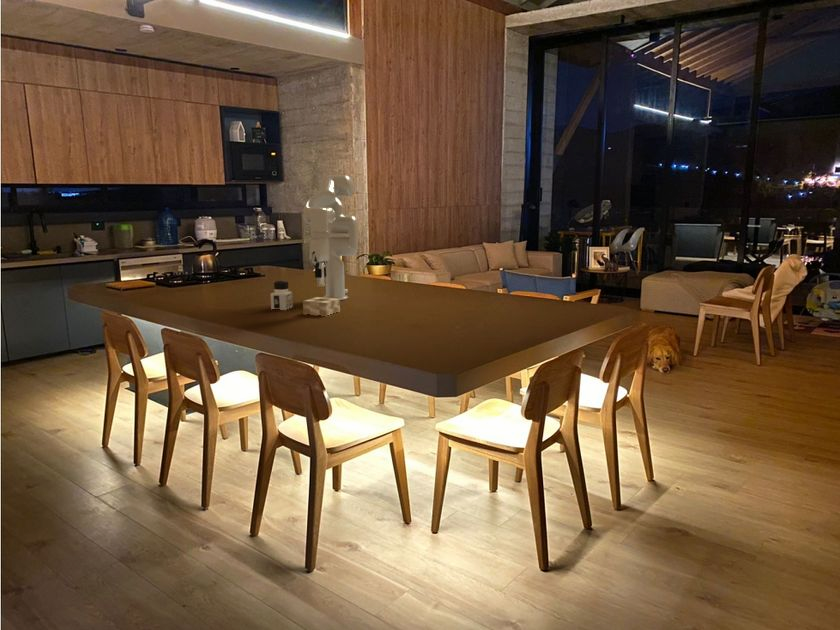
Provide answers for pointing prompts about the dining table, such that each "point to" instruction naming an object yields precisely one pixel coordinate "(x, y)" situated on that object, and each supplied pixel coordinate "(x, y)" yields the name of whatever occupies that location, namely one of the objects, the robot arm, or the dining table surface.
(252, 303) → the dining table surface
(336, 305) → the square wooden hole block
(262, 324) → the dining table surface
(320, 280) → the peg
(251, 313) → the dining table surface
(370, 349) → the dining table surface
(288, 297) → the container
